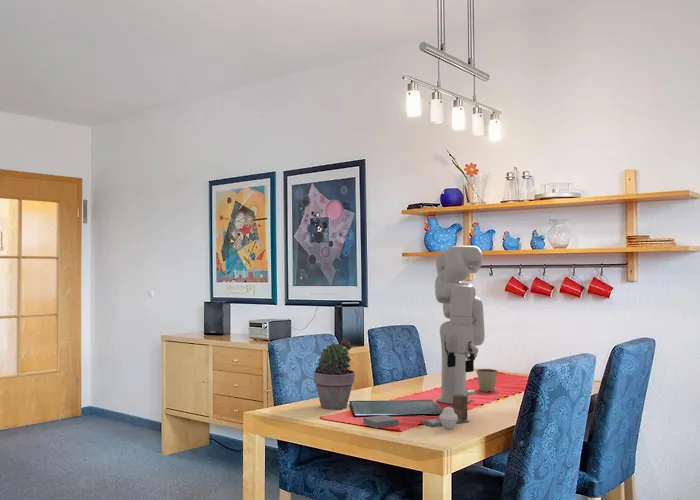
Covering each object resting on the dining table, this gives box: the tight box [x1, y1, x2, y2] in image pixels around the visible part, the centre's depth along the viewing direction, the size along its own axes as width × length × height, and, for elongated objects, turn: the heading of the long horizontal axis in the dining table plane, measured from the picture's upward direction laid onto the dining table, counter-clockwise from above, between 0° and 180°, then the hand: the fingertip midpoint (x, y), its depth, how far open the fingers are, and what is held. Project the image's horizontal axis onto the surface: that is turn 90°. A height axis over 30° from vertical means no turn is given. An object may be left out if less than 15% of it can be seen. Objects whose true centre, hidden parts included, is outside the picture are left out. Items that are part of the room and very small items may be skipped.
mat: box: [418, 419, 470, 428], centre depth 236 cm, size 16×7×1 cm, turn 121°
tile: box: [362, 414, 400, 429], centre depth 232 cm, size 2×8×9 cm
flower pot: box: [475, 368, 499, 392], centre depth 297 cm, size 9×9×9 cm
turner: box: [424, 395, 469, 425], centre depth 237 cm, size 16×4×8 cm, turn 120°
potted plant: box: [313, 339, 356, 411], centre depth 258 cm, size 18×20×25 cm
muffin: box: [438, 406, 458, 430], centre depth 228 cm, size 6×6×7 cm
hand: (460, 369), depth 241 cm, fingers open, 9 cm apart
